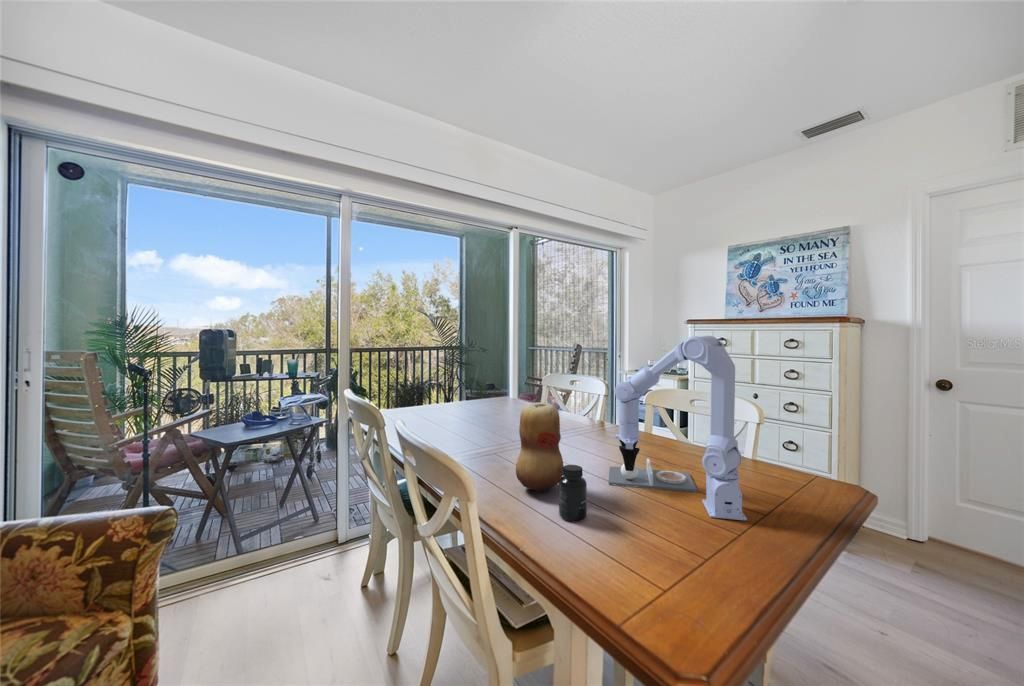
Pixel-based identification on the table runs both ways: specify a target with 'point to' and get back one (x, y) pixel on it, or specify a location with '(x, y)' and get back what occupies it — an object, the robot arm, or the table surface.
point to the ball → (629, 472)
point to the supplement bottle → (572, 494)
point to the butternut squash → (539, 447)
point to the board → (654, 479)
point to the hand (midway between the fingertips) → (629, 466)
